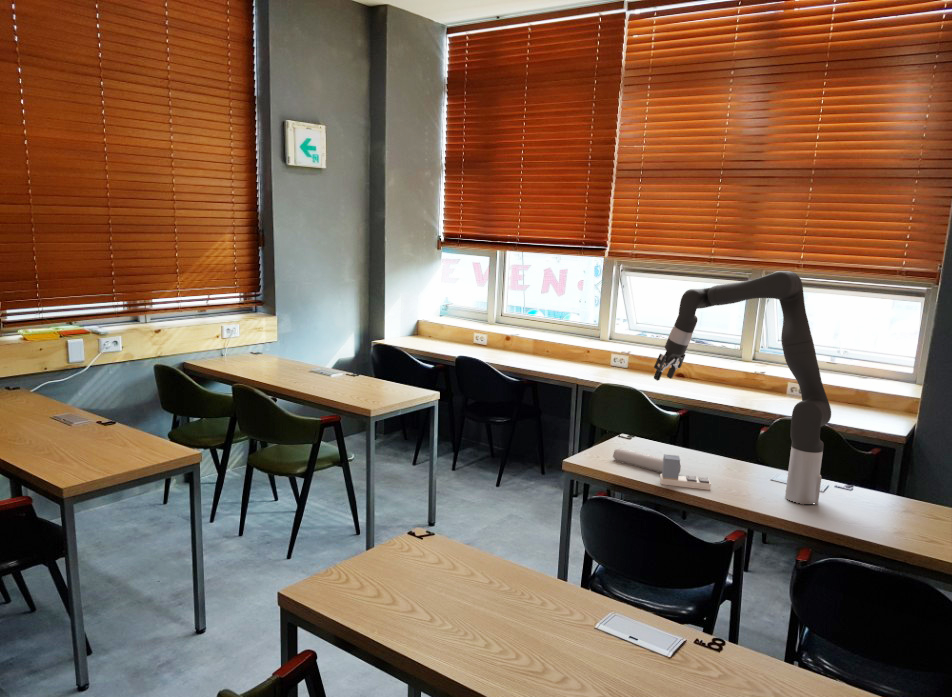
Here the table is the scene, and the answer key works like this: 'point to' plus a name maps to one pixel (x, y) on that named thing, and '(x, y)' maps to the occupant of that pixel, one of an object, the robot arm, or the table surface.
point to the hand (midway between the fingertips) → (662, 378)
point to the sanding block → (670, 467)
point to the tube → (639, 459)
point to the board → (685, 483)
